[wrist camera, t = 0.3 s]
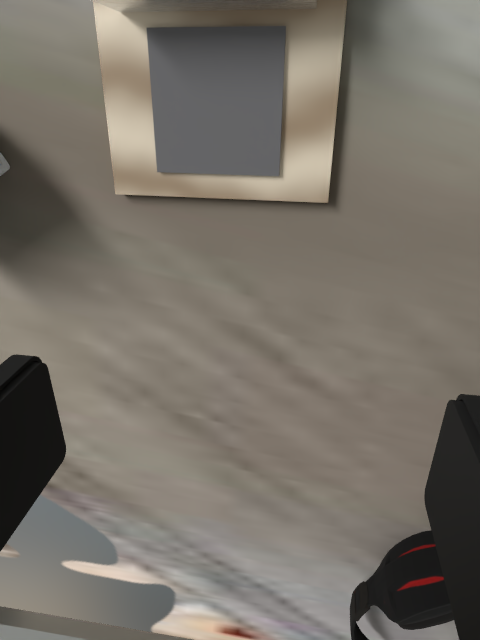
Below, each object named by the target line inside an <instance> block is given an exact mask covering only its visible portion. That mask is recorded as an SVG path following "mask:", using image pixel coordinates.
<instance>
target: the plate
mask: <svg viewBox="0 0 480 640" xmlns="http://www.w3.org/2000/svg"><path fill="white" fill-rule="evenodd" d="M91 1H93V4H94V13H95V22H96V30H97V39H98V47H99V56H100V65H101V73H102V82H103V90H104V99H105V108H106V116H107V125H108V133H109V142H110V151H111V159H112V168H113V176H114V185H115V194H124V195H148V196H173V197H197V198H222V199H246V200H270V201H295V202H319V203H328V197H329V186H330V176H331V165H332V155H333V144H334V134H335V123H336V112H337V102H338V91H339V81H340V70H341V60H342V49H343V39H344V28H345V18H346V7H347V0H91Z"/></svg>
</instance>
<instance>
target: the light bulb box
mask: <svg viewBox="0 0 480 640" xmlns="http://www.w3.org/2000/svg"><path fill="white" fill-rule="evenodd" d="M9 169H10V166H9V164H8V162H7V161H6V159H5V158H4V156H3V155H2V154H1V152H0V176H1V175H2V174H3V173H5V172H6V171H7V170H9Z"/></svg>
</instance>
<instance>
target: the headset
mask: <svg viewBox="0 0 480 640" xmlns="http://www.w3.org/2000/svg"><path fill="white" fill-rule="evenodd" d="M372 605H375V606H378V607H379V608H380V609H381V610H382V611H383V612H384V613H385V615H386V616H387V617H388V618H389V619H390V620H392V621H393V622H395V623H397V624H398V625H399V626H400V627H401V628H403V629H408V630H415V629H422V628H427V627H431V626H435V625H439V624H443V623H446V622H449V621H453V620H454V616H453V612H452V609H451V605H450V601H449V597H448V593H447V589H446V585H445V581H444V577H443V573H442V569H441V565H440V561H439V557H438V553H437V550H436V546H435V542H434V538H433V534H432V531H425V532H421V533H418V534H415V535H412V536H410V537H408V538H406V539H404V540H402V541H401V542H399V543H398V544H397V545H395V546H394V547H393V548H392V549H391V550H390V551H389V552H388V553H387V554H386V556H385V557H384V559H383V560H382V562H381V564H380V566H379V567H378V569H377V570H376V572H375V573H374V575H373V576H371V577H370V578H369V579H368V580H367V581H366V582H364V581H363V582H362V583H360V584H359V585H358V586H357V587H356V589H355V590H354V591H353V594H352V599H351V604H350V628H351V639H352V640H369V639H368V638H367V637H366V636H365V635H364V634H363V633H362V632H361V630H360V629H359V627H358V625H357V623H356V621H359V619H360V618H361V617H362V616H363V615H364V614H365V613H366V612H367V611H368V610H369V609H370V606H372Z"/></svg>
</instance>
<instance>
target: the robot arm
mask: <svg viewBox="0 0 480 640" xmlns="http://www.w3.org/2000/svg"><path fill="white" fill-rule="evenodd" d="M65 454H66V445H65V440H64V436H63V432H62V427H61V423H60V418H59V414H58V410H57V405H56V401H55V397H54V392H53V388H52V384H51V379H50V375H49V371H48V367H47V365H46V364H44V363H42V361H41V359H40V358H39V357H36V356H26V355H12V356H10V357H9V358H8V359H7V360H5V361H4V362H3V363H2V364H1V365H0V551H1V550H2V549H3V547H4V546H5V544H6V543H7V541H8V540H9V538H10V537H11V535H12V534H13V533H14V531H15V530H16V528H17V527H18V525H19V524H20V522H21V521H22V520H23V518H24V517H25V515H26V514H27V512H28V511H29V509H30V508H31V507H32V505H33V504H34V502H35V501H36V499H37V498H38V496H39V495H40V494H41V492H42V491H43V489H44V488H45V486H46V485H47V483H48V482H49V481H50V479H51V478H52V476H53V475H54V473H55V472H56V470H57V469H58V468H59V466H60V465H61V463H62V462H63V460H64V457H65ZM425 506H426V510H427V514H428V518H429V522H430V526H431V530H432V534H433V538H434V542H435V546H436V550H437V553H438V557H439V561H440V565H441V569H442V573H443V577H444V581H445V585H446V589H447V593H448V597H449V601H450V605H451V609H452V612H453V616H454V620H455V624H456V628H457V632H458V636H459V640H480V396H477V395H466V394H460V395H459V396H458V397H457V400H450V401H449V402H448V404H447V407H446V411H445V415H444V418H443V422H442V426H441V430H440V434H439V438H438V442H437V445H436V449H435V453H434V457H433V461H432V465H431V468H430V472H429V476H428V480H427V484H426V488H425ZM0 640H192V639H187V638H181V637H175V636H169V635H164V634H158V633H152V632H146V631H141V630H135V629H129V628H124V627H118V626H112V625H106V624H100V623H95V622H89V621H83V620H77V619H72V618H66V617H60V616H54V615H48V614H42V613H36V612H30V611H24V610H18V609H12V608H6V607H0Z"/></svg>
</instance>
